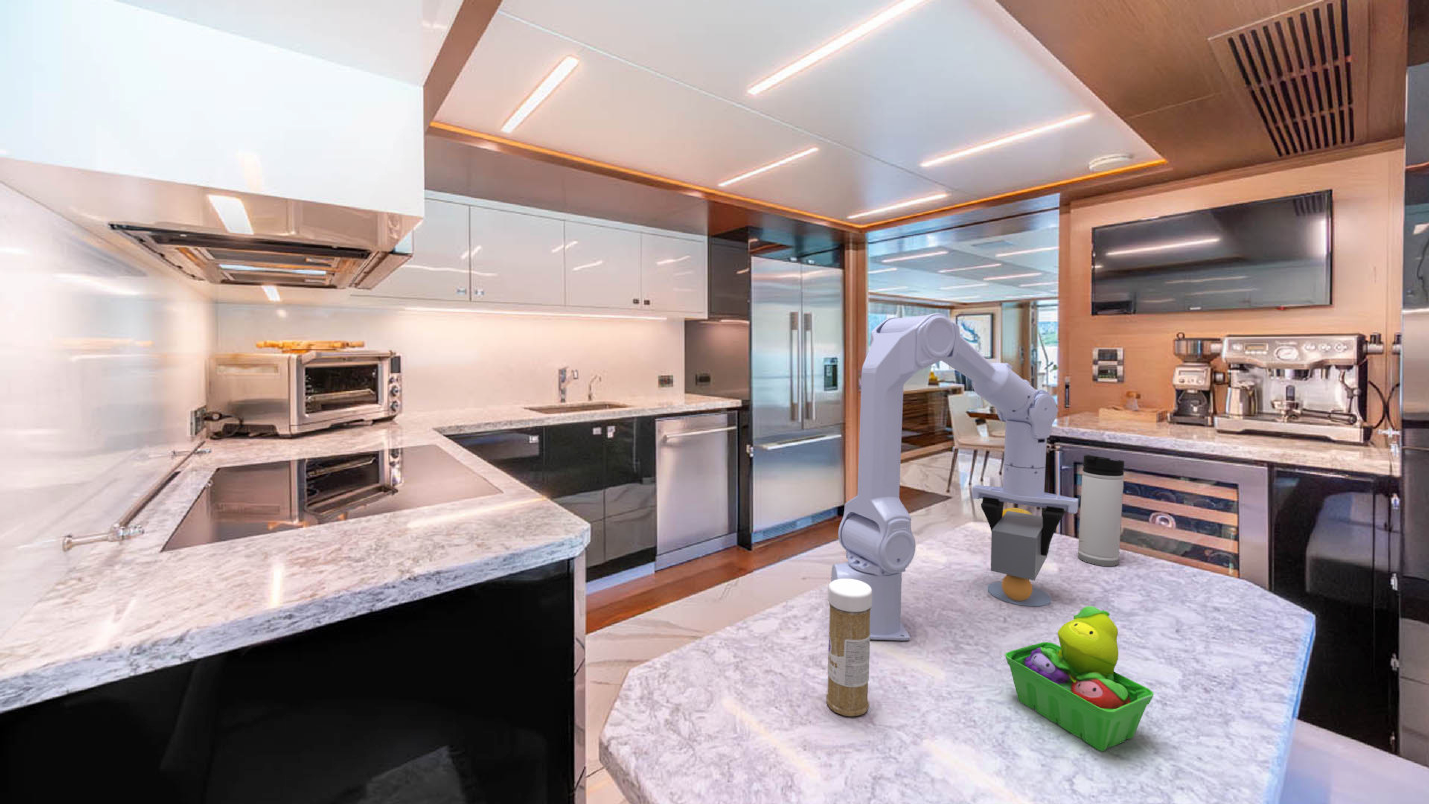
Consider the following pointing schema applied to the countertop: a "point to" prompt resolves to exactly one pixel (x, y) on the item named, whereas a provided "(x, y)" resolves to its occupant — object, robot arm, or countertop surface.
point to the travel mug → (1101, 510)
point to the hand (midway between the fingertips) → (1020, 549)
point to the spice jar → (849, 646)
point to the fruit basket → (1081, 681)
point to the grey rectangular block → (1017, 545)
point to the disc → (1035, 599)
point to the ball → (1017, 587)
